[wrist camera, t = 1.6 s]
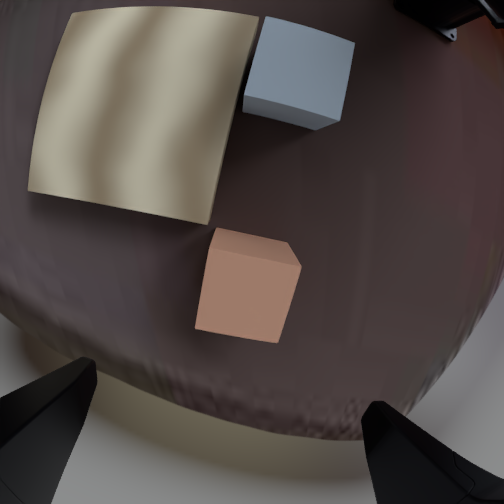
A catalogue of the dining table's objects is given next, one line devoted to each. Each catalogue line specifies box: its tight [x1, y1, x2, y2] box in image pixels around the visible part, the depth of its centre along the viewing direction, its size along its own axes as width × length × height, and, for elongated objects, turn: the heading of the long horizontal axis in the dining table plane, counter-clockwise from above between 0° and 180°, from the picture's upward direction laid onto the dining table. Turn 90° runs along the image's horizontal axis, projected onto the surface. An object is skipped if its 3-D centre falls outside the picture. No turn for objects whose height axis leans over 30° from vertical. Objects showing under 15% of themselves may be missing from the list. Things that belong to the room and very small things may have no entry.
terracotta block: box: [195, 227, 302, 343], centre depth 18 cm, size 5×5×5 cm
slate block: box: [243, 16, 355, 131], centre depth 15 cm, size 5×5×5 cm
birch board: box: [28, 7, 259, 225], centre depth 16 cm, size 14×14×2 cm
